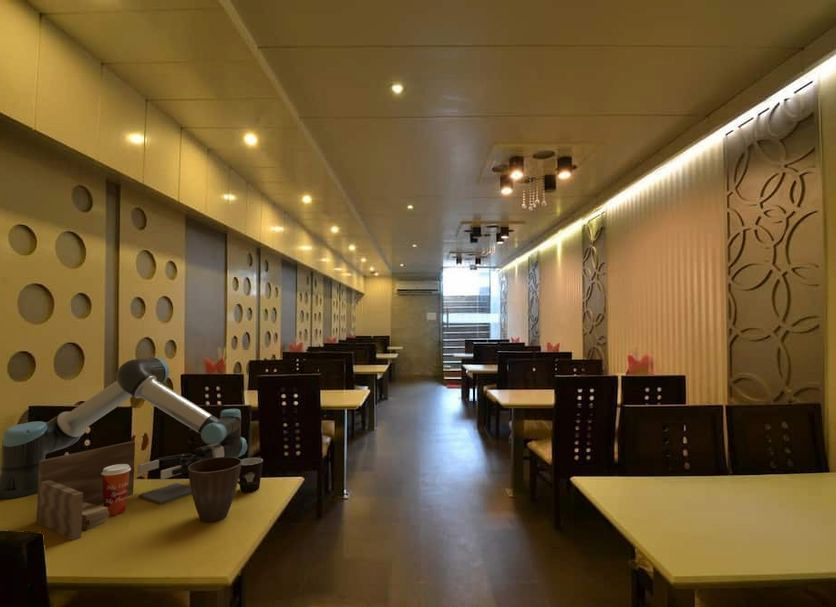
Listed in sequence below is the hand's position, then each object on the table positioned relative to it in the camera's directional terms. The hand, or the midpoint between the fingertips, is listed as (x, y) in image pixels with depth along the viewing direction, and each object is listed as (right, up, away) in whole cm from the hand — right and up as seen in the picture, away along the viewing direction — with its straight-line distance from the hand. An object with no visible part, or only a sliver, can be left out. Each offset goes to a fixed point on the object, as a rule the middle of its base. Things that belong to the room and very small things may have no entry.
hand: (149, 472), depth 143 cm
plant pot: (+28, -9, -13) cm, 32 cm away
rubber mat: (+3, -10, +5) cm, 12 cm away
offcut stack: (-9, -9, -17) cm, 21 cm away
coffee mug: (+29, -10, +9) cm, 32 cm away
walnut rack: (-8, -9, -10) cm, 16 cm away
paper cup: (-5, -9, -9) cm, 14 cm away
